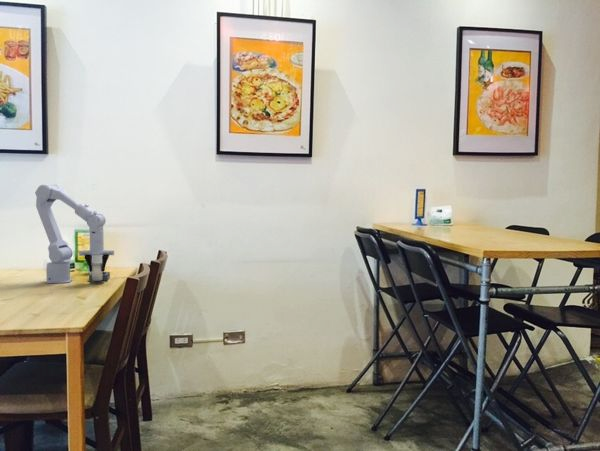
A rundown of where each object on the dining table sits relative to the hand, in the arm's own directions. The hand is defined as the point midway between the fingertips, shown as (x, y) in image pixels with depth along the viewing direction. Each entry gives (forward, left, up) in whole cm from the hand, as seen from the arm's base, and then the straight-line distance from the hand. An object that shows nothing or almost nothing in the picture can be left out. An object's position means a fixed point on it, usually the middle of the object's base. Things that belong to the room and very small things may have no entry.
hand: (97, 271), depth 228 cm
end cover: (0, 0, -4) cm, 4 cm away
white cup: (-4, +24, -6) cm, 25 cm away
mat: (0, 0, -5) cm, 5 cm away
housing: (0, +7, -5) cm, 9 cm away
